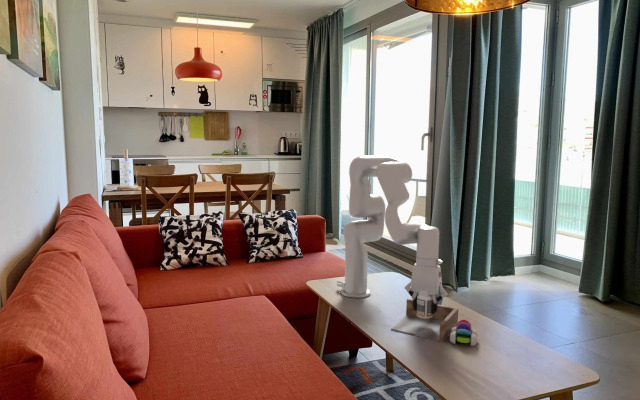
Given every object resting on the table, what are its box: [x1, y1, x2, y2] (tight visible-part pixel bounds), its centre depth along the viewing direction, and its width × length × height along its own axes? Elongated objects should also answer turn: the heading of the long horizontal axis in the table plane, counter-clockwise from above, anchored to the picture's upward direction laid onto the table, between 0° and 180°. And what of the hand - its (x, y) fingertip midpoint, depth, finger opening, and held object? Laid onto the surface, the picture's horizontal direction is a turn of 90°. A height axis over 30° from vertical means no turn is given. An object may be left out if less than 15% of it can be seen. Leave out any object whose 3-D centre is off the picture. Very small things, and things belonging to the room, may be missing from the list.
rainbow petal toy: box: [449, 319, 478, 347], centre depth 163 cm, size 8×10×7 cm
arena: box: [390, 298, 459, 343], centre depth 175 cm, size 19×19×6 cm
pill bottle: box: [417, 291, 433, 319], centre depth 174 cm, size 6×6×10 cm
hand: (424, 310), depth 175 cm, fingers closed on pill bottle, 5 cm apart
